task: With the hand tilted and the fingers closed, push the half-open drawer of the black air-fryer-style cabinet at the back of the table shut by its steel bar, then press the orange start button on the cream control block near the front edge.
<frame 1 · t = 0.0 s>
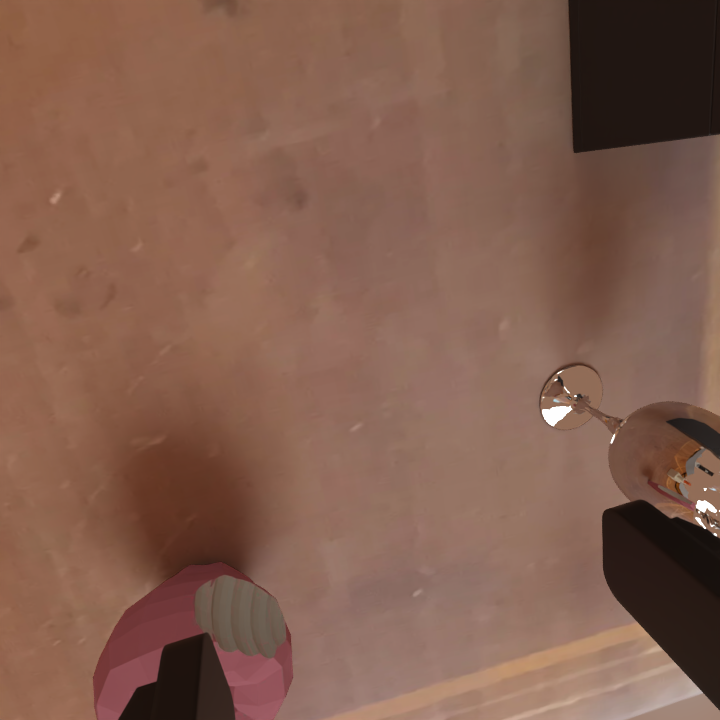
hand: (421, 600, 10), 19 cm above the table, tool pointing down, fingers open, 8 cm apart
wineglass: (569, 396, 33), on the table
apple: (206, 583, 31), on the table
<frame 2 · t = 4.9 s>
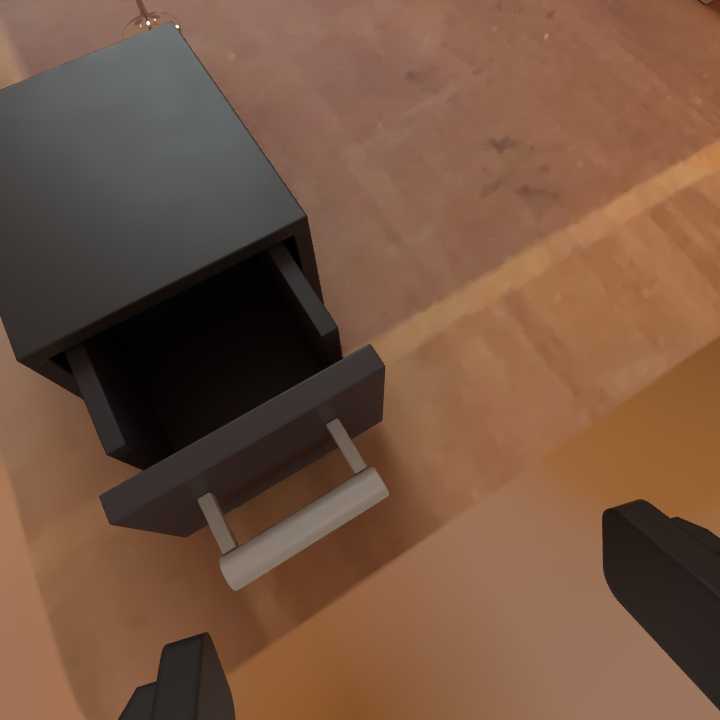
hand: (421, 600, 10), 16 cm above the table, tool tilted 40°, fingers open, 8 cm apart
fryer: (181, 277, 32), on the table
wineglass: (152, 34, 41), on the table
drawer: (227, 375, 24), point 5 cm above the table, slide at 6.0 cm
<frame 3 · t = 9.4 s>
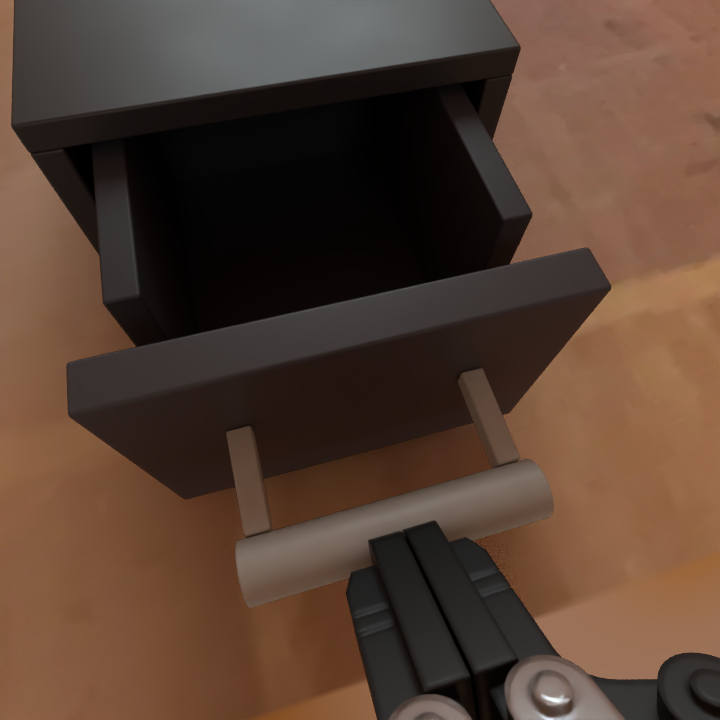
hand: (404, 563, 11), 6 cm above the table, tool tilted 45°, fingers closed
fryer: (273, 173, 24), on the table
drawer: (315, 273, 16), point 5 cm above the table, slide at 5.8 cm, touching gripper
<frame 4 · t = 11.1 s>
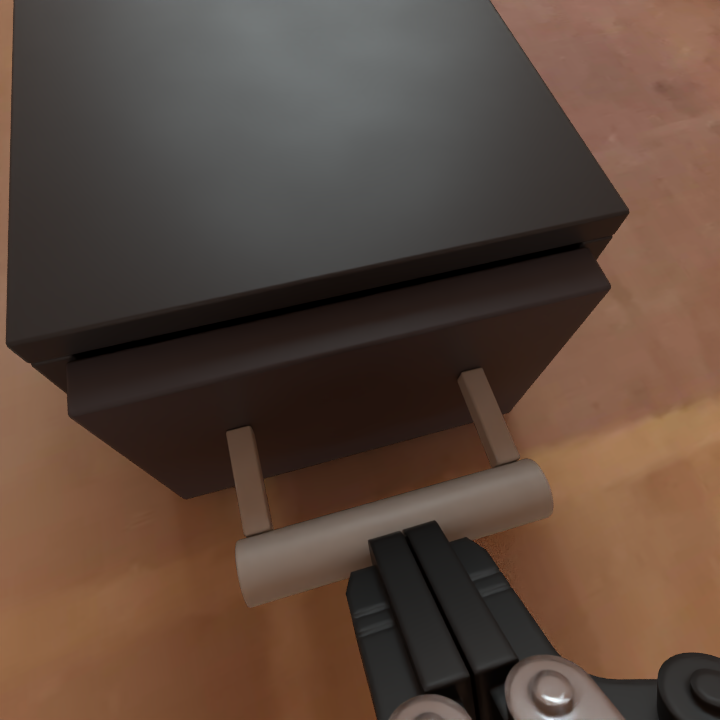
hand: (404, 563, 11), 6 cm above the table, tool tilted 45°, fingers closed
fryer: (300, 271, 22), on the table
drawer: (315, 273, 16), point 5 cm above the table, slide at 0.0 cm, touching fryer, gripper
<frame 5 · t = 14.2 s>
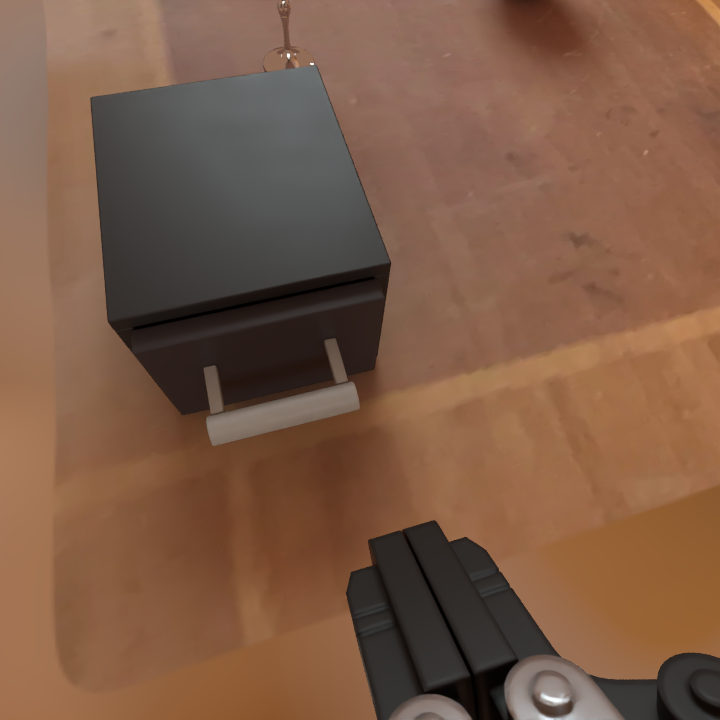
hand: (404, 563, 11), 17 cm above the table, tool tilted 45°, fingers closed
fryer: (256, 283, 34), on the table
wineglass: (289, 65, 45), on the table
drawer: (256, 287, 28), point 5 cm above the table, slide at 0.0 cm, touching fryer
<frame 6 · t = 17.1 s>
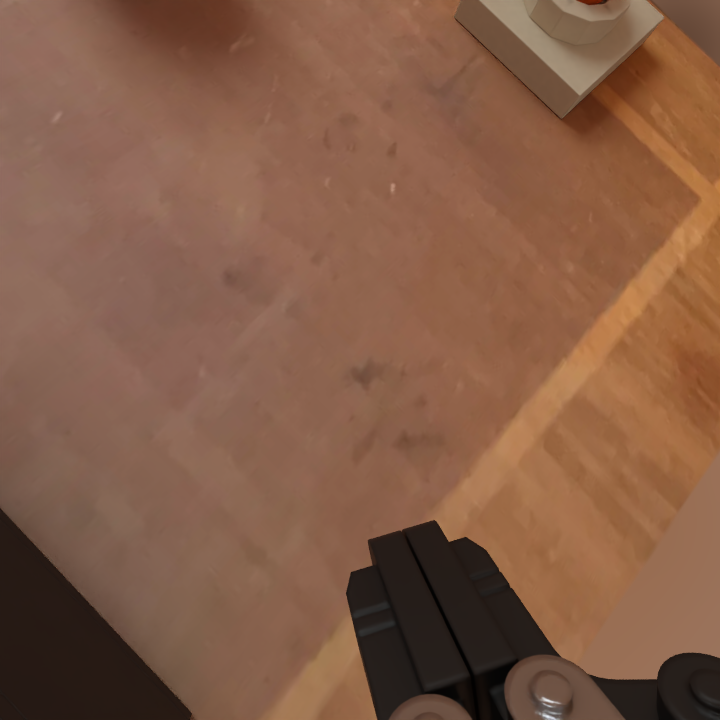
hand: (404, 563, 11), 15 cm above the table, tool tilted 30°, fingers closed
control block: (551, 30, 35), on the table
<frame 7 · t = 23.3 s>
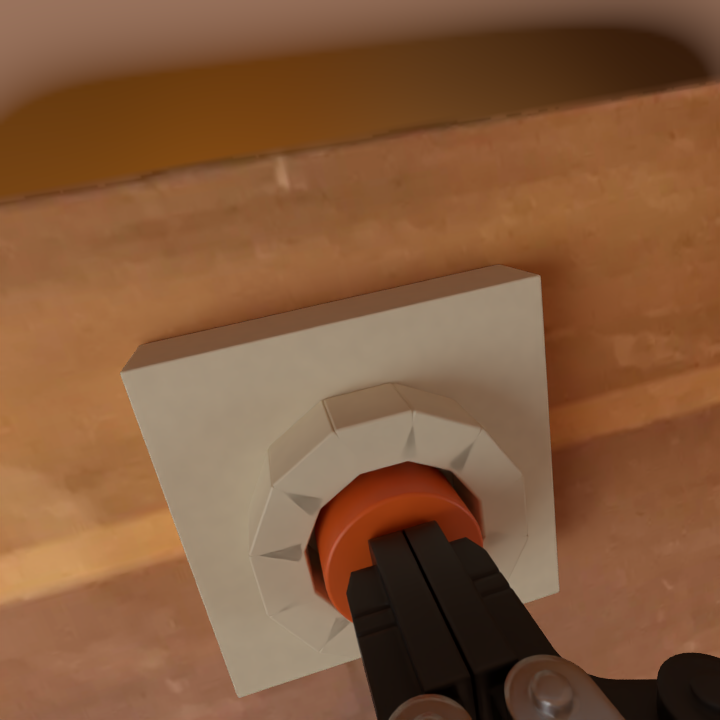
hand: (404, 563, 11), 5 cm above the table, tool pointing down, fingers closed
control block: (361, 461, 15), on the table
start button: (396, 541, 12), point 4 cm above the table, slide at -0.5 cm, touching gripper
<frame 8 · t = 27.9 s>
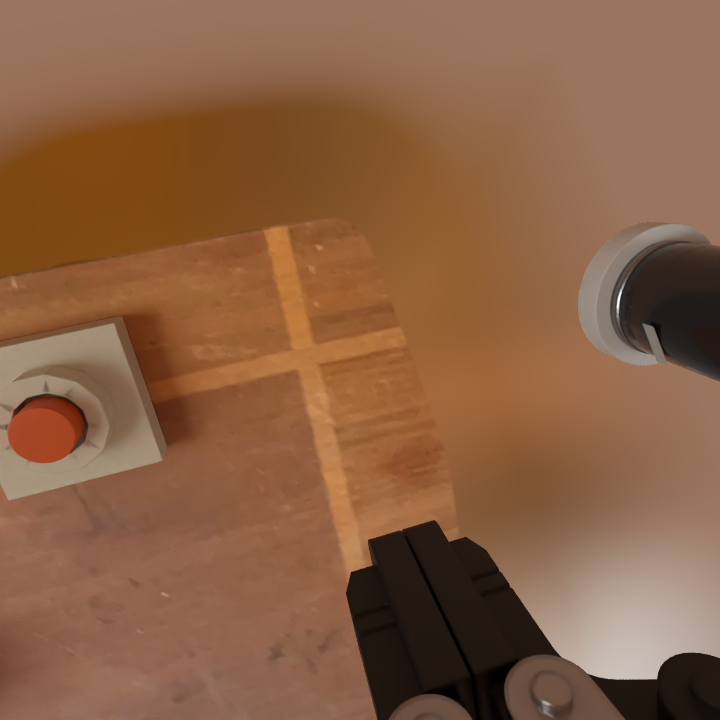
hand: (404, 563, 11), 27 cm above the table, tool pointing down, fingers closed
control block: (70, 401, 35), on the table
start button: (47, 429, 31), point 4 cm above the table, slide at 0.1 cm
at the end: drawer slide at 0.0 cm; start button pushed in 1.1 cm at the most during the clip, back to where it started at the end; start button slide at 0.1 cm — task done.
